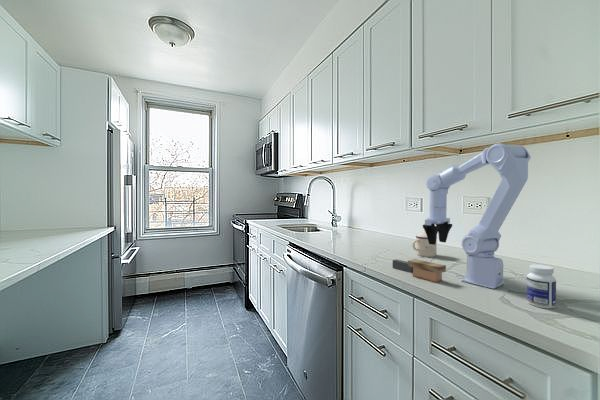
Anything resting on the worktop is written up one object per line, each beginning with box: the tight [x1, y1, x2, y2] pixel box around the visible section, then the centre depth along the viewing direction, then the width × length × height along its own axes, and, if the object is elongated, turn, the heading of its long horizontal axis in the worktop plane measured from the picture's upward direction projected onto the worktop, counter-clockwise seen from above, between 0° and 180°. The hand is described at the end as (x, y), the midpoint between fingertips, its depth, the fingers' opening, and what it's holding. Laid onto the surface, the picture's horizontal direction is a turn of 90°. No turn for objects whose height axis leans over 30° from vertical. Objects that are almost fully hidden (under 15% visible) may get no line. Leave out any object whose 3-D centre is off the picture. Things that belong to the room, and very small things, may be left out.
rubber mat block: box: [392, 259, 413, 274], centre depth 104 cm, size 8×2×3 cm, turn 36°
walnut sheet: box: [407, 258, 447, 274], centre depth 93 cm, size 11×4×2 cm, turn 36°
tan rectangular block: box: [412, 268, 443, 284], centre depth 93 cm, size 8×4×3 cm, turn 36°
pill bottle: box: [526, 264, 557, 310], centre depth 71 cm, size 6×6×10 cm
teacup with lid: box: [411, 230, 438, 258], centre depth 128 cm, size 12×9×12 cm
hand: (437, 243), depth 104 cm, fingers open, 7 cm apart
